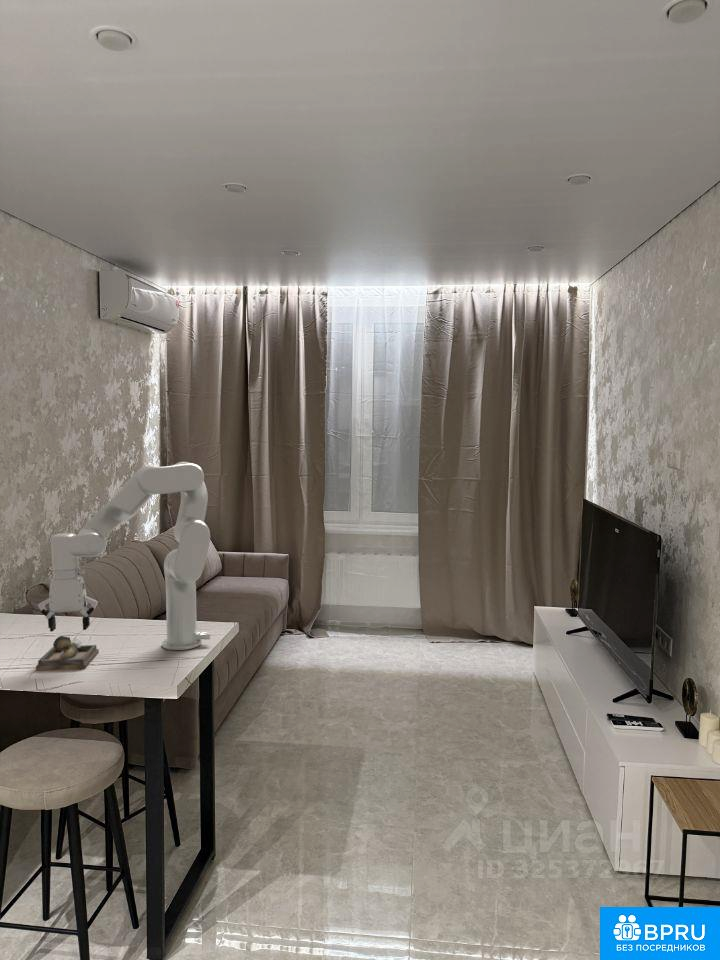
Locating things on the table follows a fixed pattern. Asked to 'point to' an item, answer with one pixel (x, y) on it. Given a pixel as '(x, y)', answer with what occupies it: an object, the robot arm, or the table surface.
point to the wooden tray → (78, 662)
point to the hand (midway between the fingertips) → (69, 629)
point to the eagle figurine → (67, 646)
